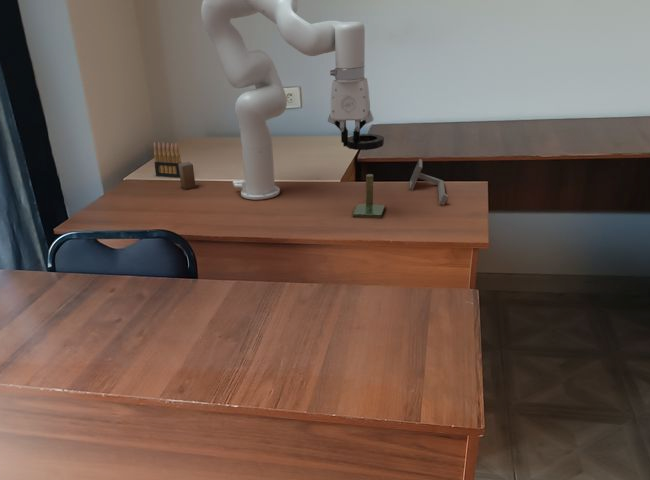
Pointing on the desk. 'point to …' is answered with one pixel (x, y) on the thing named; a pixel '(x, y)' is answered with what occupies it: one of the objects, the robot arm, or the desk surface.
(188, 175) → the wooden block
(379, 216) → the post
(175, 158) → the ammunition clip
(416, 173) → the toilet paper hanger
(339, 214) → the desk surface
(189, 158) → the desk surface
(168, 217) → the desk surface
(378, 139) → the black ring
